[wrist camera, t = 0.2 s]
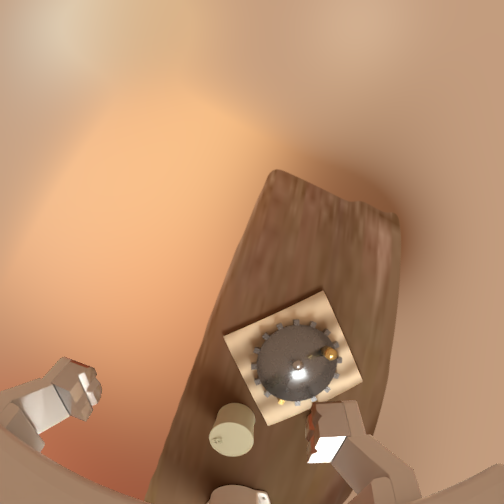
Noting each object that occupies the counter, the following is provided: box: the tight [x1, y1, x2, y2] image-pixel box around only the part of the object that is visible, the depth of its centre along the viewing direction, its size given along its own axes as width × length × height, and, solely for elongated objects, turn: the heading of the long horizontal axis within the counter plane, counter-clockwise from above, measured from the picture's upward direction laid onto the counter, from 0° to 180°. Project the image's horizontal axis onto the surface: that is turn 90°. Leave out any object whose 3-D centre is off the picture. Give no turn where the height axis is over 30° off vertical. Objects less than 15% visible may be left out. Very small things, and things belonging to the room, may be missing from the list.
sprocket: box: [251, 319, 342, 406], centre depth 54 cm, size 20×20×7 cm
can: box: [209, 403, 255, 456], centre depth 51 cm, size 9×9×12 cm
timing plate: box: [223, 291, 362, 426], centre depth 57 cm, size 25×25×4 cm
